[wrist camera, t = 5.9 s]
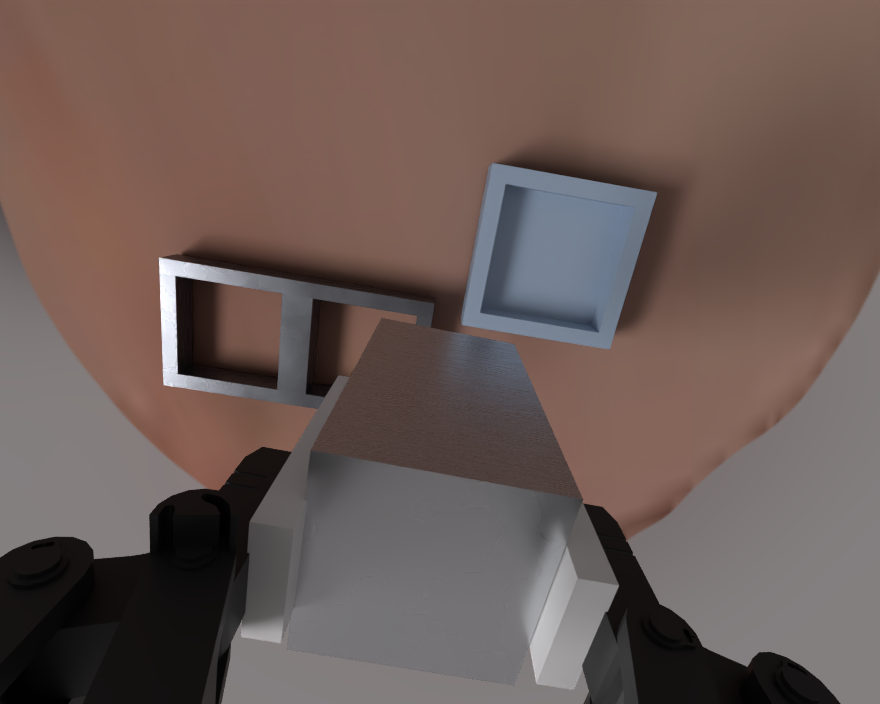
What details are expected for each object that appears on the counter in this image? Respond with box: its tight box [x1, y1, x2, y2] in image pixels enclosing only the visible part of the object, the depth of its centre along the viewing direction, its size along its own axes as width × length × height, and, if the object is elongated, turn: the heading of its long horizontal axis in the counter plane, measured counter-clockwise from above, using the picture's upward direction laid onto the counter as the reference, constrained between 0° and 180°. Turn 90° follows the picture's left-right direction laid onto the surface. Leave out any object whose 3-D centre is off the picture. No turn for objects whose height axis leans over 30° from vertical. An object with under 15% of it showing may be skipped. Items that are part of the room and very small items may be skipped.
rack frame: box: [159, 254, 435, 409], centre depth 32 cm, size 9×18×2 cm, turn 81°
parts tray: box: [461, 163, 657, 349], centre depth 29 cm, size 10×10×2 cm
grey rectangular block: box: [287, 318, 583, 685], centre depth 13 cm, size 5×5×9 cm
